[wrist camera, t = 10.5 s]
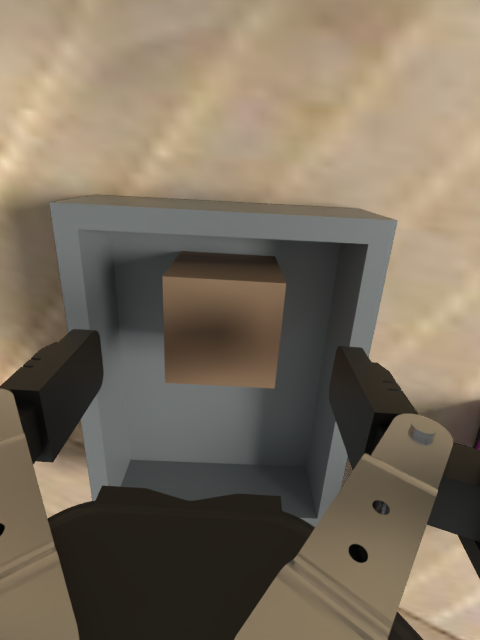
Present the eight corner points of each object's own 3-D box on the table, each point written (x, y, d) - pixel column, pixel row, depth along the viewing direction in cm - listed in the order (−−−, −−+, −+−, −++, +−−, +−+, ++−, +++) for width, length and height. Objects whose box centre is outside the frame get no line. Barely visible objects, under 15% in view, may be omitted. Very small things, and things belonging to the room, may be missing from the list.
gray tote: (95, 194, 19) (49, 202, 14) (359, 208, 19) (397, 220, 15) (121, 459, 26) (95, 522, 21) (315, 467, 26) (331, 531, 21)
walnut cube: (181, 250, 19) (162, 276, 14) (275, 256, 19) (286, 283, 15) (181, 336, 21) (164, 382, 16) (267, 340, 21) (274, 388, 17)
